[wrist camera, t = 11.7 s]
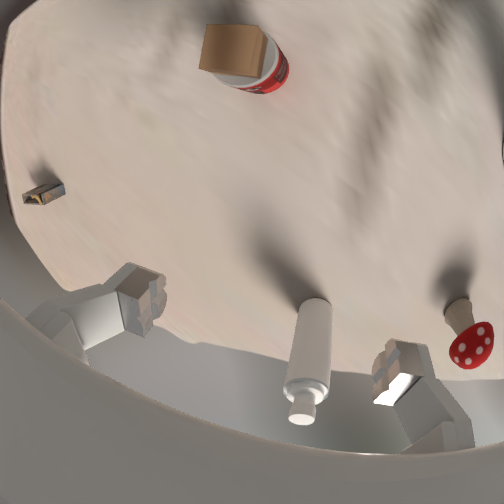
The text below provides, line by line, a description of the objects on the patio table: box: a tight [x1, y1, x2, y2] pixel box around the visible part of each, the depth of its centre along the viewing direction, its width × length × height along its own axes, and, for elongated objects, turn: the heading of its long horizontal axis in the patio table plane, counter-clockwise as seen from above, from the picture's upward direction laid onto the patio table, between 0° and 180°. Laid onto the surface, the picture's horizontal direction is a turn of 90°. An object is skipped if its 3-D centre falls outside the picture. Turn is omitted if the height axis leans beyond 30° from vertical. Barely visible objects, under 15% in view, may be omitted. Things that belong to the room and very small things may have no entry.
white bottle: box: [283, 298, 333, 425], centre depth 40 cm, size 7×7×25 cm
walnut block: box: [199, 24, 268, 79], centre depth 22 cm, size 5×5×5 cm
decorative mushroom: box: [445, 298, 494, 369], centre depth 36 cm, size 10×9×15 cm
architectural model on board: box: [22, 184, 65, 205], centre depth 50 cm, size 11×3×10 cm, turn 89°
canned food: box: [213, 31, 289, 94], centre depth 28 cm, size 8×8×11 cm
